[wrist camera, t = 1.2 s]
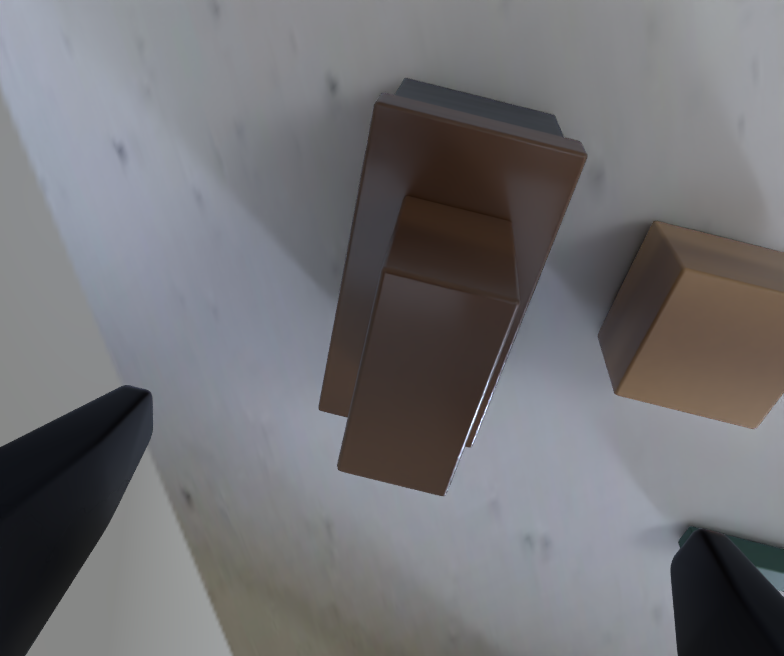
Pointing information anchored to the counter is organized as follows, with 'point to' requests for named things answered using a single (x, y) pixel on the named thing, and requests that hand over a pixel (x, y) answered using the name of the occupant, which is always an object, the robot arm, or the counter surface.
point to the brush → (439, 274)
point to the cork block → (699, 326)
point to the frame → (757, 557)
